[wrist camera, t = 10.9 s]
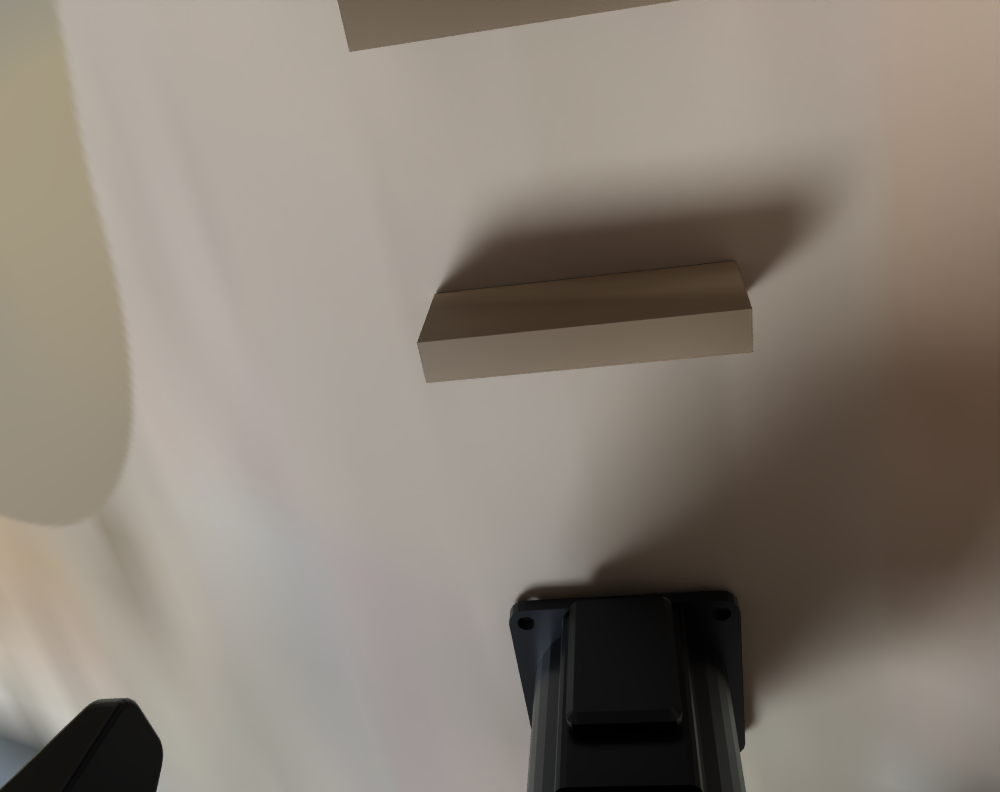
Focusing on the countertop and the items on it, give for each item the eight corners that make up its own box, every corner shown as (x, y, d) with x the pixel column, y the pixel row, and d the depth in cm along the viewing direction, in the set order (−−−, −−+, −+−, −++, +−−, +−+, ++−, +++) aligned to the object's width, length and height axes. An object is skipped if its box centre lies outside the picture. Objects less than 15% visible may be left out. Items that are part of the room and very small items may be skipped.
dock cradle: (737, 300, 21) (753, 352, 19) (442, 331, 22) (426, 382, 20) (725, -86, 17) (743, -76, 15) (366, -25, 18) (335, -8, 16)
